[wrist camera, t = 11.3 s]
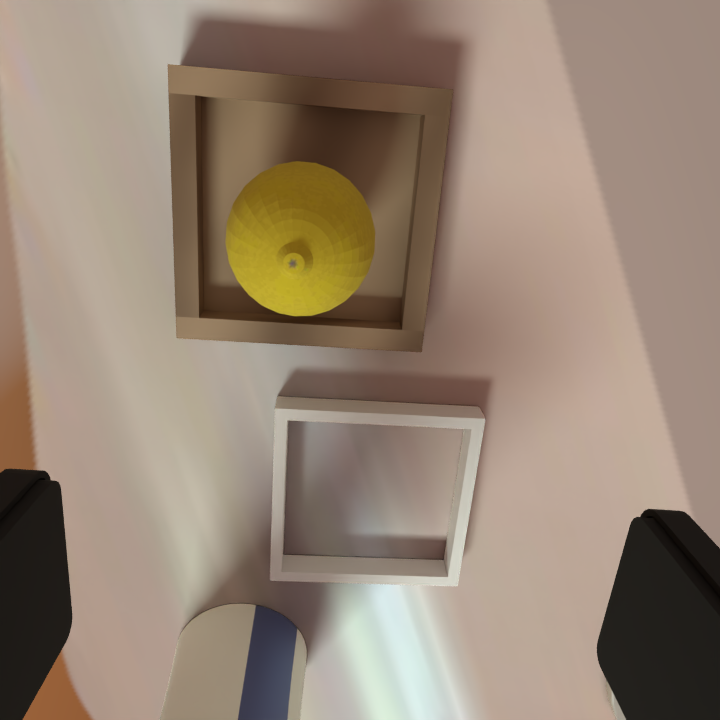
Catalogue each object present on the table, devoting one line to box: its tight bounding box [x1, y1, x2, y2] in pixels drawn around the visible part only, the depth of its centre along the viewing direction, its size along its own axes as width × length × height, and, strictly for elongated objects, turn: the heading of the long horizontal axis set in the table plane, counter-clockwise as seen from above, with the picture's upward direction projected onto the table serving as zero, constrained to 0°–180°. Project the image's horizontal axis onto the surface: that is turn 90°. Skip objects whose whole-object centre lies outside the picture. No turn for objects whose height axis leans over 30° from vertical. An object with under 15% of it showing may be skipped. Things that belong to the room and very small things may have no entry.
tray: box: [168, 64, 453, 352], centre depth 26 cm, size 11×11×2 cm
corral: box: [270, 396, 485, 586], centre depth 31 cm, size 10×10×1 cm
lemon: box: [225, 161, 375, 316], centre depth 23 cm, size 6×6×8 cm
